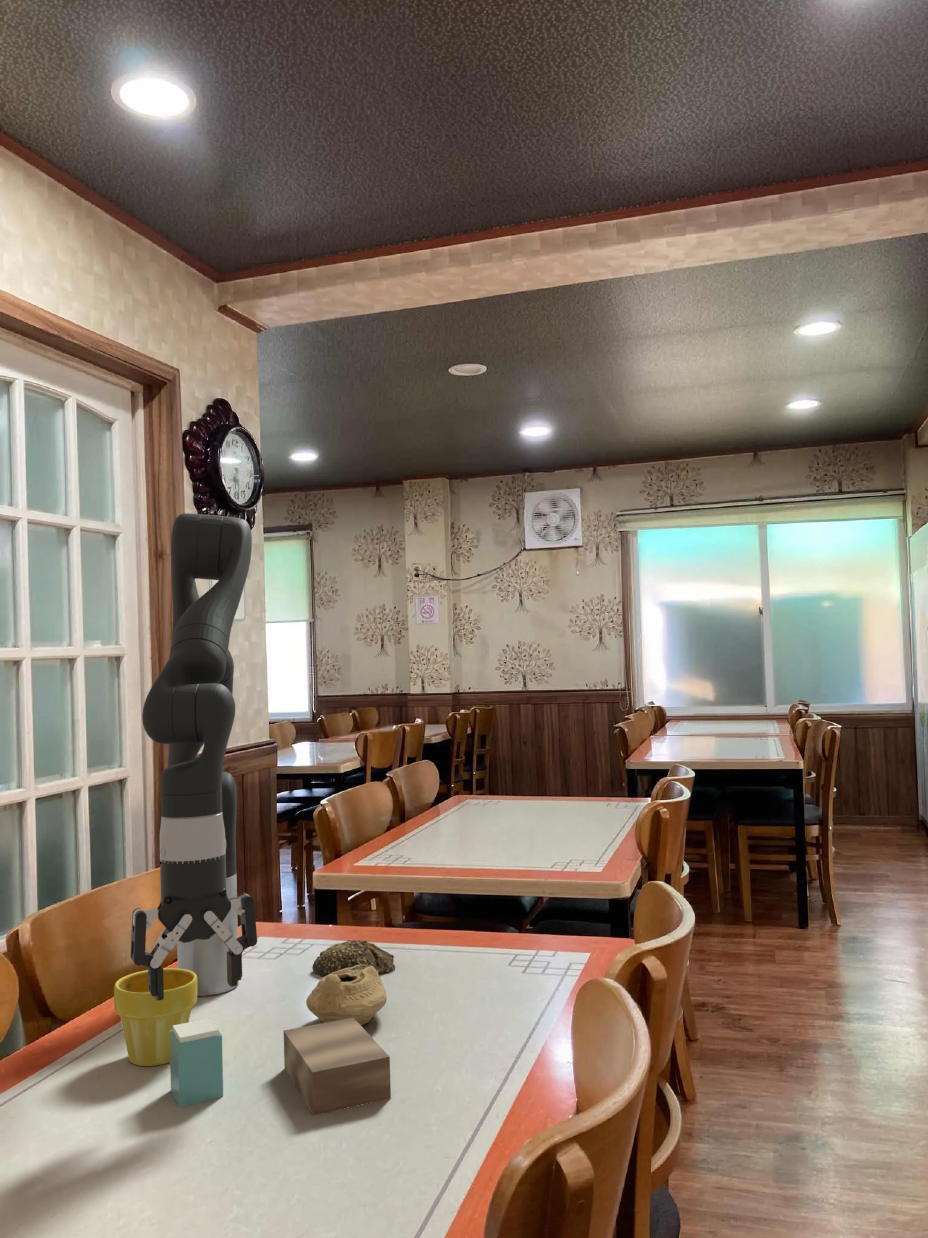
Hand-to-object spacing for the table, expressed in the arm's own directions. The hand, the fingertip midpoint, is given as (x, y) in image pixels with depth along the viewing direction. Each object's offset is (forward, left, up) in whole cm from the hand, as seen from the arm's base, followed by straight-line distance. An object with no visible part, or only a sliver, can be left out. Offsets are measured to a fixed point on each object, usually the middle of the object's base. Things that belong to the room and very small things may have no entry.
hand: (196, 991), depth 115 cm
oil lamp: (-13, +24, -12) cm, 30 cm away
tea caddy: (0, 0, -12) cm, 12 cm away
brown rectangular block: (+6, +15, -12) cm, 20 cm away
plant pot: (-14, -2, -12) cm, 19 cm away
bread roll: (-34, +33, -12) cm, 49 cm away
